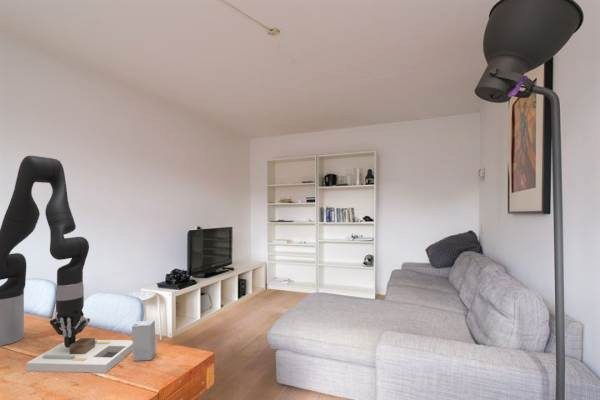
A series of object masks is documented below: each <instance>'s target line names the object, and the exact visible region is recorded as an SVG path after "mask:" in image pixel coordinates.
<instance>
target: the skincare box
mask: <svg viewBox="0 0 600 400" xmlns="http://www.w3.org/2000/svg"><path fill="white" fill-rule="evenodd" d="M155 323H156V320H137V321H136V322H135V323H134V324H133V325H132V326H131V339H132V340H133V351H132V361H133V362H140V361H141V362H142V361H151V360H153V359H154V357H155V356H156V354H157V351H156V324H155Z"/></svg>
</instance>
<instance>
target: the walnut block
mask: <svg viewBox="0 0 600 400" xmlns="http://www.w3.org/2000/svg"><path fill="white" fill-rule="evenodd" d="M78 339H79V340H77V341H75V342H74V343H72V344H71V345H70V354H86V353H87V352H88V351H90V350H91V349H92V348H94V347H95V340H96V338H95V337H81V338H78Z"/></svg>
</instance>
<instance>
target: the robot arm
mask: <svg viewBox="0 0 600 400" xmlns="http://www.w3.org/2000/svg"><path fill="white" fill-rule="evenodd" d="M35 183H43V184H45V183H46V184H50V186H51V189H52V193H51V197H50V199H49V201H48V202H47V204H46V207H45V212H44V213H45V214H44V215H45V219H46V221H47V225H48V227H49V232H50V236H49V237H50V240H49V253H50V256H51V257H52V258H53V259H55V260H57V261H58V260H59V261H63V260H68V259H69V260H70V261H69V262H68V263H67V264H64V265H62V266H60V267H59V268H57V271H56V288H55V312H56V317H55V318H53V319H51V320H49V324H50V325H51V326H52V328H53V330H54V331H55V332H56V333H57V335H58V336H61V335H62V336H63V338H64V339H63V340H64V341H63V342H64V345H65V347H66V348H70V345H71V344H72V343H74V342H75V341H76V338H77V337H76V335H78V334H80V333H82V332H83V330H85V327H87V325H88V324H89V322H90V321H91V319H90V318H89V317H88V318H87V317H85V316H84V312H83V309H84V303H85V302H84V301H85V299H84V297H85V296H84V295H85V294H84V293H85V292H84V291H85V290H84V289H85V287H84V280H83V279H84V278H83V277H84V275H83V273H84V271H83V270H84V266H85V262H86V260H87V257H88V254H89V251H90V245H89V240H88V239H86V238H85V237H84V236H73V237H65V235H67V234H71V233H72V232H74V231H75V230H76V228H77V227H76V222H75V220H74V217H73V213H72V210H71V207H70V205H69V198H68V191H67V189H68V188H67V182H66V175H65V171H64V167H63V164H62V163H61V160H59V159H57V158H52V157H47V156H46V157H44V156H38V155H26V156H25V157H23V159H22V160H21V162H20V165H19V168H18V170H17V176H16V179H15V183H14V189H13V192H12V195H11V199H10V201H9V204H8V207H7V209H6V212H5V214H4V216H3V219H2V223H1V224H0V225H1V226H0V281H3V280H6V281H5V282H4V283H3V284H0V346H1V347H2V346H6V345H10V344H14V343H16V342H19V341H21V340H22V339H23V338H24V336H25V334H24V333H25V332H24V331H25V301H24V300H25V288H26V277H27V259H26V257H25V256H24V254H22V253H18V252H15V253H13V252H12V251H13V249H14V248H16V247H17V246H18V245H19V244H20V243H21V242H23V241H25V239H27V238H28V237H29V236H30V235H31V234H32V233H33V232H34V231H35V229H36V227H37V224H38V221H39V218H40V215H41V214H40V213H41V212H40V210H39V207H38V205H37V204H36V203H37V202H36V201H35V199H34V198H33V193H32V191H33V187H34V184H35ZM11 252H12V253H11Z"/></svg>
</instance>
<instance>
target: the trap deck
mask: <svg viewBox="0 0 600 400" xmlns="http://www.w3.org/2000/svg"><path fill="white" fill-rule="evenodd" d="M79 339H80V338H77V339H76V341H77V340H79ZM130 353H133V340H131V339H130V340H125V339H95V347H94V348H92V349H91V350H90V351H88V352H87V353H86V354H70V348H66V347H65V345H64V341H63V342H61V343H59V344H57V345H56V346H54V347H51V348H49V350H47V351H45V352H43V353H41V354H40V355H38V356H36V357H35V358H33V359H31V360H29V361H27V362H25V364H26V365H25V366H26V372H55V373H57V372H61V373H91V374H92V373H95V374H96V373H97V374H98V373H99V374H100V373H102V374H104V373H105V374H107V372H108V370H109V371H110V370H111V369H113V367H115V366H116V365H117V364H118V363H120V362H121V361H122V360H123V359H125V358H126V357H127V356H128V355H129V354H130ZM125 356H126V357H125Z"/></svg>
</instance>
